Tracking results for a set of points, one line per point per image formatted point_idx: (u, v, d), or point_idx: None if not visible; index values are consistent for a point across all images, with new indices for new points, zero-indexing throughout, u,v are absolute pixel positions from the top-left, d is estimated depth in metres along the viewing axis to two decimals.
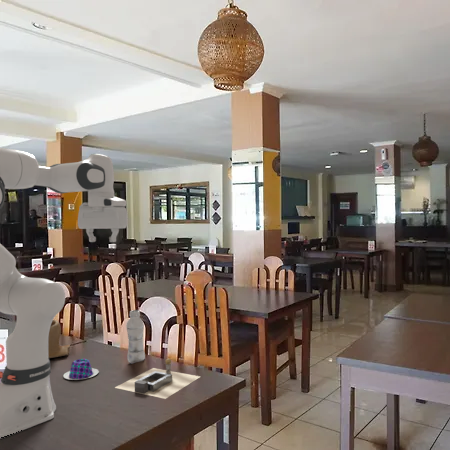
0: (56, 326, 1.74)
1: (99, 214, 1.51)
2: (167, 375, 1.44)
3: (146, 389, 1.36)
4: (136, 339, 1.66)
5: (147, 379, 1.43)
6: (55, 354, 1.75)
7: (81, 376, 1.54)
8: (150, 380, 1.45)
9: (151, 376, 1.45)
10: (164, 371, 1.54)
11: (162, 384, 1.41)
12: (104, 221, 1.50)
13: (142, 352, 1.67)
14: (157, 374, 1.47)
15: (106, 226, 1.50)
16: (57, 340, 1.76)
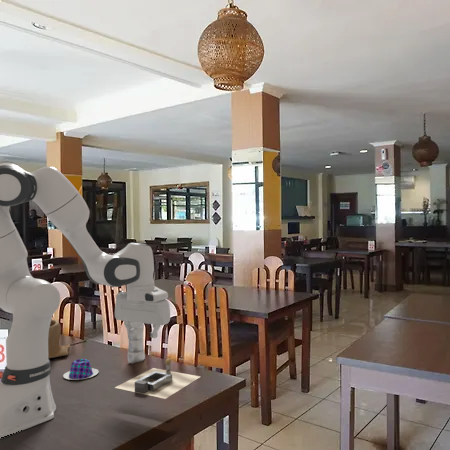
0: (56, 326, 1.74)
1: (139, 307, 1.40)
2: (167, 375, 1.44)
3: (146, 389, 1.36)
4: (136, 339, 1.66)
5: (147, 379, 1.43)
6: (55, 354, 1.75)
7: (81, 376, 1.54)
8: (150, 380, 1.45)
9: (151, 376, 1.45)
10: (164, 371, 1.54)
11: (162, 384, 1.41)
12: (144, 316, 1.39)
13: (142, 352, 1.67)
14: (157, 374, 1.47)
15: (147, 321, 1.39)
16: (57, 340, 1.76)
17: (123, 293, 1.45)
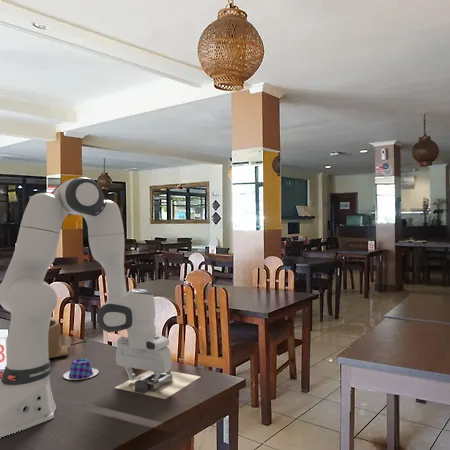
0: (56, 326, 1.74)
1: (140, 354, 1.41)
2: (167, 375, 1.44)
3: (146, 389, 1.36)
4: None
5: (147, 379, 1.43)
6: (55, 354, 1.75)
7: (81, 376, 1.54)
8: (150, 380, 1.45)
9: (151, 376, 1.45)
10: None
11: (162, 384, 1.41)
12: (146, 363, 1.40)
13: None
14: None
15: (148, 369, 1.39)
16: (57, 340, 1.76)
17: (124, 338, 1.45)
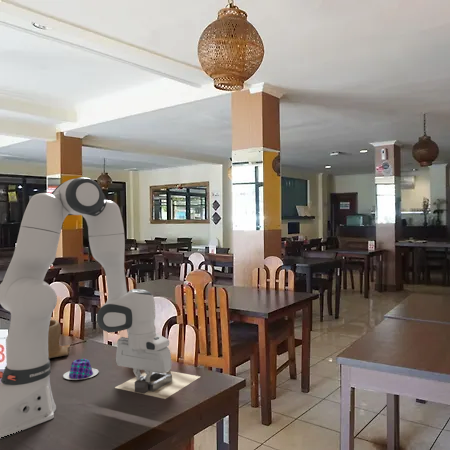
0: (56, 326, 1.74)
1: (140, 354, 1.41)
2: (167, 375, 1.44)
3: (146, 389, 1.36)
4: None
5: None
6: (55, 354, 1.75)
7: (80, 376, 1.54)
8: (150, 380, 1.45)
9: (151, 376, 1.45)
10: None
11: (162, 384, 1.41)
12: (146, 363, 1.39)
13: None
14: (157, 374, 1.47)
15: (148, 369, 1.39)
16: (57, 340, 1.76)
17: (124, 339, 1.45)
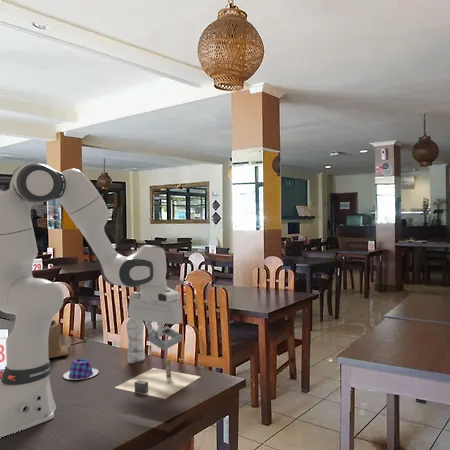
0: (56, 326, 1.74)
1: (152, 307, 1.46)
2: (178, 336, 1.50)
3: (146, 389, 1.36)
4: (136, 339, 1.66)
5: None
6: (55, 354, 1.75)
7: (80, 376, 1.54)
8: (161, 335, 1.51)
9: (163, 331, 1.51)
10: (164, 371, 1.54)
11: (172, 344, 1.47)
12: (157, 315, 1.45)
13: (142, 352, 1.67)
14: (169, 330, 1.53)
15: (160, 320, 1.44)
16: (57, 340, 1.76)
17: (136, 293, 1.51)
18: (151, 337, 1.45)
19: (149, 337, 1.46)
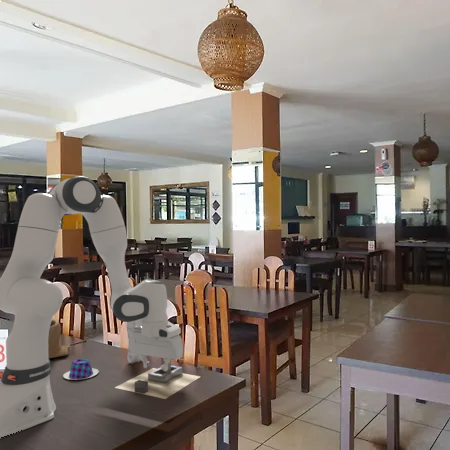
0: (56, 326, 1.74)
1: (153, 342, 1.46)
2: (178, 368, 1.51)
3: (146, 389, 1.36)
4: None
5: (158, 372, 1.50)
6: (55, 354, 1.75)
7: (79, 376, 1.54)
8: (161, 373, 1.51)
9: None
10: None
11: (173, 376, 1.47)
12: (158, 350, 1.45)
13: None
14: None
15: (160, 356, 1.45)
16: (57, 340, 1.76)
17: (137, 327, 1.51)
18: (150, 375, 1.46)
19: (149, 376, 1.46)
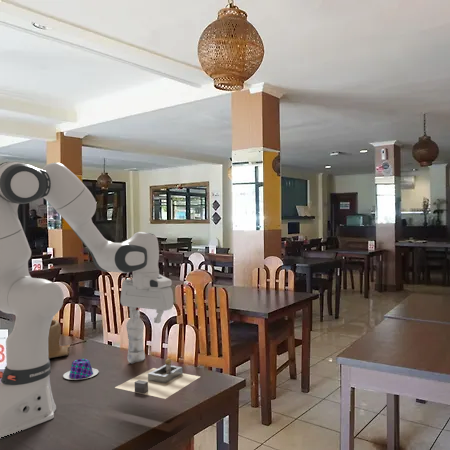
0: (56, 326, 1.74)
1: (144, 293, 1.47)
2: (178, 368, 1.51)
3: (146, 389, 1.36)
4: (136, 339, 1.66)
5: (158, 372, 1.50)
6: (55, 354, 1.75)
7: (78, 376, 1.54)
8: (161, 373, 1.51)
9: (162, 369, 1.52)
10: None
11: (173, 376, 1.47)
12: (149, 301, 1.46)
13: (142, 352, 1.67)
14: None
15: (151, 307, 1.46)
16: (57, 340, 1.76)
17: (129, 280, 1.52)
18: (150, 375, 1.46)
19: (149, 376, 1.46)
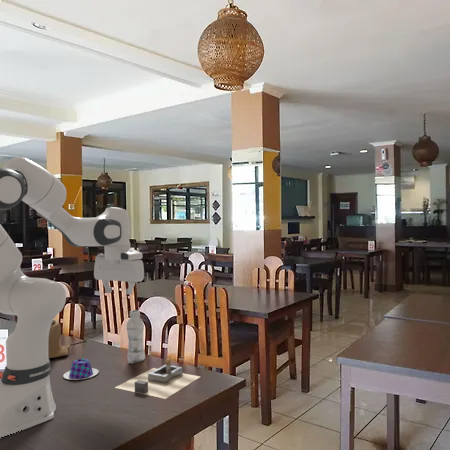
0: (56, 326, 1.74)
1: (115, 266, 1.53)
2: (178, 368, 1.51)
3: (146, 389, 1.36)
4: (136, 339, 1.66)
5: (158, 372, 1.50)
6: (55, 354, 1.75)
7: (78, 376, 1.54)
8: (161, 373, 1.51)
9: (162, 369, 1.52)
10: None
11: (173, 376, 1.47)
12: (120, 274, 1.52)
13: (142, 352, 1.67)
14: None
15: (123, 279, 1.51)
16: (57, 340, 1.76)
17: (102, 255, 1.57)
18: (150, 375, 1.46)
19: (149, 376, 1.46)
